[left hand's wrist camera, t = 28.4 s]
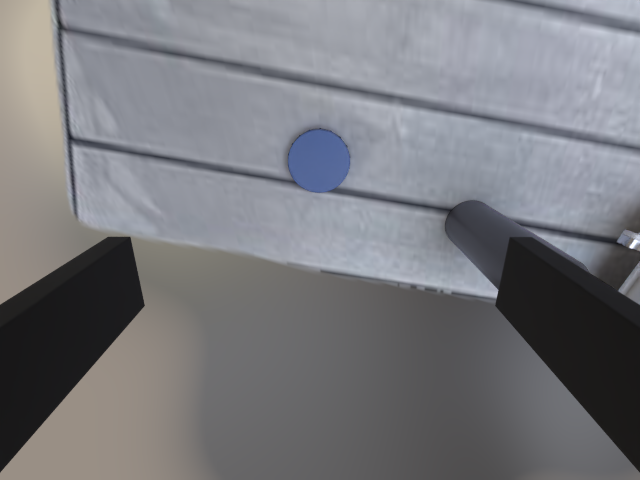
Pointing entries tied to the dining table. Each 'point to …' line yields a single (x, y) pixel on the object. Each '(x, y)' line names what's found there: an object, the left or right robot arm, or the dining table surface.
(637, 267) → the right robot arm
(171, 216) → the dining table surface
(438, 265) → the dining table surface
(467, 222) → the jar
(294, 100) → the dining table surface
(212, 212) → the dining table surface
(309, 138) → the lid
